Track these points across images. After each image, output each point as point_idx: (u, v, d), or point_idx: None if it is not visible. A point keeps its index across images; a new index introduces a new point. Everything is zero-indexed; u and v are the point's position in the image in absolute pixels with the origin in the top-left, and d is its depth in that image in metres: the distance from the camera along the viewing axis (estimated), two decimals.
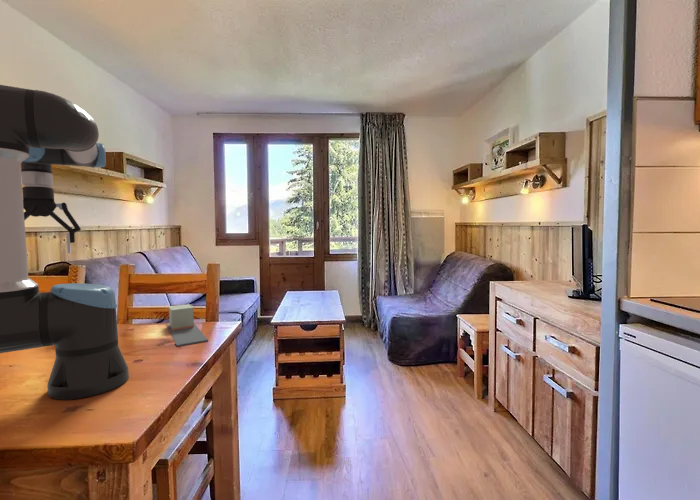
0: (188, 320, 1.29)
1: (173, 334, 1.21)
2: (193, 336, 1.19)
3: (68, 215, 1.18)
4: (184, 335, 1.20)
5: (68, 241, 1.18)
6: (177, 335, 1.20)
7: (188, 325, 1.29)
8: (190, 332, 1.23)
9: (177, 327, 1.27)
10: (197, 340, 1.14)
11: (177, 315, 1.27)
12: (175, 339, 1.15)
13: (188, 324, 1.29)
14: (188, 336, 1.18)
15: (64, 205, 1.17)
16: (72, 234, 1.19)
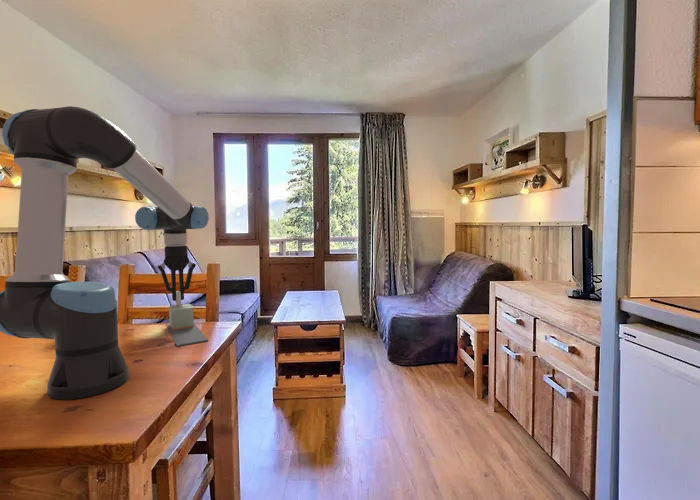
0: (188, 320, 1.29)
1: (173, 334, 1.21)
2: (193, 336, 1.19)
3: (190, 274, 1.35)
4: (184, 335, 1.20)
5: (179, 299, 1.33)
6: (177, 335, 1.20)
7: (188, 325, 1.29)
8: (190, 332, 1.23)
9: (178, 327, 1.27)
10: (197, 340, 1.14)
11: (177, 315, 1.27)
12: (175, 339, 1.15)
13: (188, 324, 1.29)
14: (188, 336, 1.18)
15: (193, 266, 1.35)
16: (182, 292, 1.34)
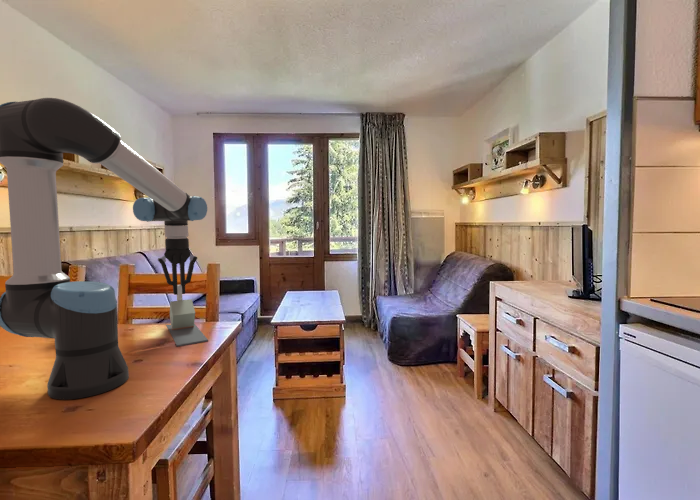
0: (189, 322, 1.28)
1: (173, 334, 1.21)
2: (193, 336, 1.19)
3: (191, 267, 1.31)
4: (184, 335, 1.20)
5: (181, 293, 1.30)
6: (177, 335, 1.20)
7: (188, 326, 1.28)
8: (190, 332, 1.23)
9: (178, 328, 1.27)
10: (197, 340, 1.14)
11: (178, 319, 1.25)
12: (175, 339, 1.15)
13: (188, 325, 1.28)
14: (188, 336, 1.18)
15: (195, 259, 1.32)
16: (183, 286, 1.31)
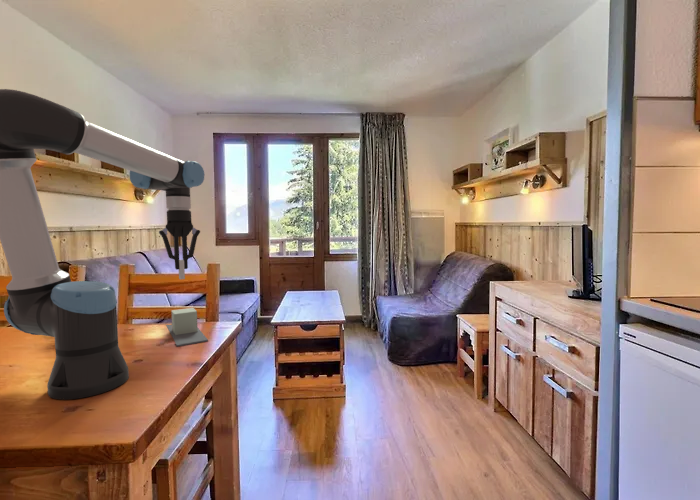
0: None
1: (173, 334, 1.21)
2: (193, 336, 1.19)
3: (194, 241, 1.25)
4: (184, 335, 1.20)
5: (183, 267, 1.24)
6: (177, 335, 1.20)
7: None
8: None
9: None
10: (197, 340, 1.14)
11: None
12: (175, 339, 1.15)
13: None
14: (188, 336, 1.18)
15: (198, 232, 1.26)
16: (186, 261, 1.25)
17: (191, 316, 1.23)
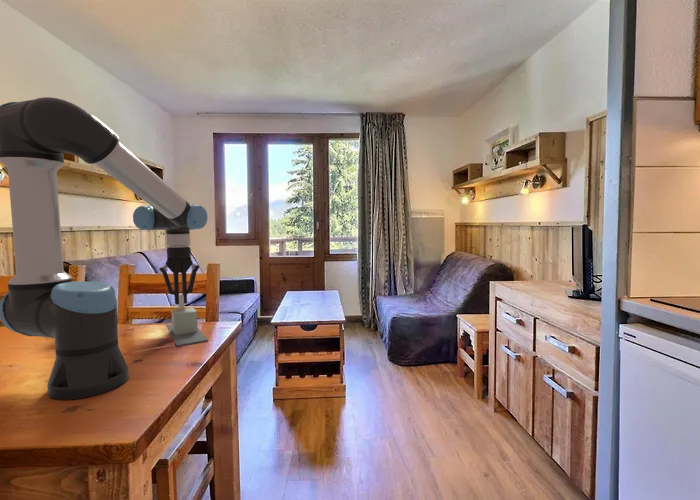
0: None
1: (173, 334, 1.21)
2: (193, 336, 1.19)
3: (193, 276, 1.29)
4: (184, 335, 1.20)
5: (182, 302, 1.28)
6: (177, 335, 1.20)
7: None
8: None
9: None
10: (197, 340, 1.14)
11: None
12: (175, 339, 1.15)
13: None
14: (188, 336, 1.18)
15: (197, 268, 1.30)
16: (185, 295, 1.29)
17: (191, 316, 1.23)
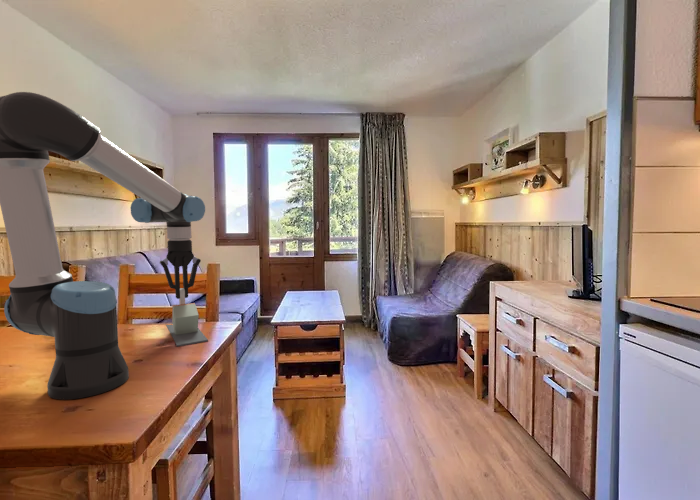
0: None
1: (173, 334, 1.21)
2: (193, 336, 1.19)
3: (194, 270, 1.26)
4: (184, 335, 1.20)
5: (183, 297, 1.25)
6: (177, 335, 1.20)
7: None
8: None
9: None
10: (197, 340, 1.14)
11: None
12: (175, 339, 1.15)
13: None
14: (188, 336, 1.18)
15: (198, 261, 1.27)
16: (186, 290, 1.26)
17: (192, 319, 1.21)
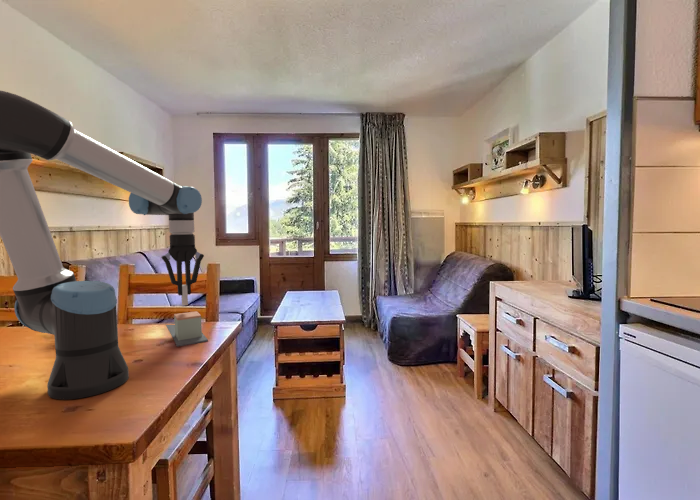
0: None
1: (173, 334, 1.21)
2: None
3: (197, 266, 1.22)
4: None
5: (186, 293, 1.20)
6: None
7: None
8: None
9: None
10: (197, 340, 1.14)
11: None
12: (175, 339, 1.15)
13: None
14: None
15: (201, 257, 1.22)
16: (189, 286, 1.21)
17: None
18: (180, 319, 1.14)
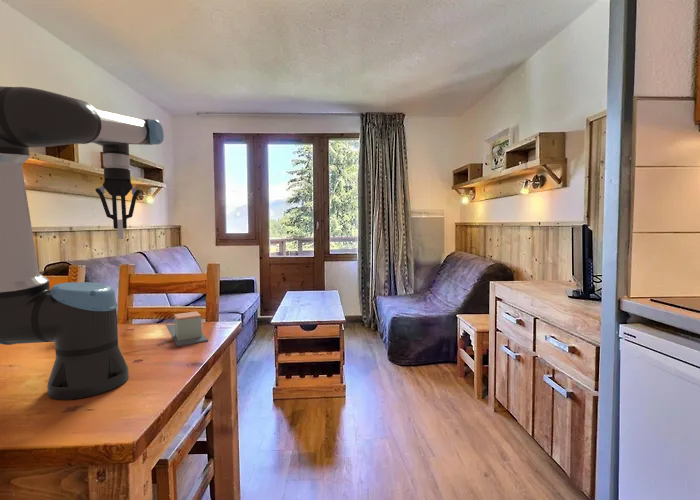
0: None
1: (173, 334, 1.21)
2: None
3: (133, 201, 1.24)
4: None
5: (121, 227, 1.23)
6: None
7: None
8: None
9: None
10: (197, 340, 1.14)
11: None
12: (175, 339, 1.15)
13: None
14: None
15: (137, 192, 1.25)
16: (125, 220, 1.24)
17: None
18: (180, 319, 1.14)
